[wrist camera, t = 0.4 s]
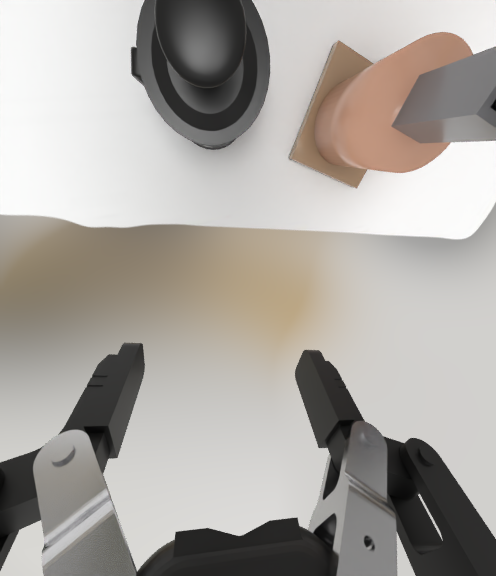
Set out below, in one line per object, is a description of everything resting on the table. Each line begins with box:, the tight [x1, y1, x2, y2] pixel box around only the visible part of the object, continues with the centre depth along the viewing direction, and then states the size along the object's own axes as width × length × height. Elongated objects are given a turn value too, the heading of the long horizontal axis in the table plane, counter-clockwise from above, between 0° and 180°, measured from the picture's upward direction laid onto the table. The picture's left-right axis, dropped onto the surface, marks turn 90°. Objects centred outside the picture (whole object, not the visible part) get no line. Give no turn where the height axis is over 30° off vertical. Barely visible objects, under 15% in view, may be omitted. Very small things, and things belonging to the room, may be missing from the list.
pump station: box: [289, 32, 496, 188], centre depth 23 cm, size 13×12×22 cm
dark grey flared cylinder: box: [131, 0, 270, 150], centre depth 20 cm, size 12×9×23 cm
